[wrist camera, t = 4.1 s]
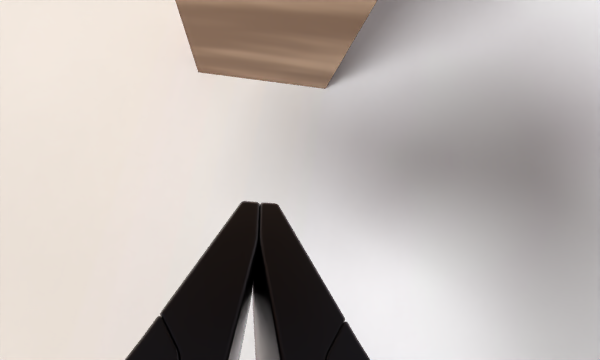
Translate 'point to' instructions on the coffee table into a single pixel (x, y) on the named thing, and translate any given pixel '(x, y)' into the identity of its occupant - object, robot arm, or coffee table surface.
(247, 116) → the coffee table surface
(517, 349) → the coffee table surface
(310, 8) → the walnut card box
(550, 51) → the coffee table surface
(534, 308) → the coffee table surface
